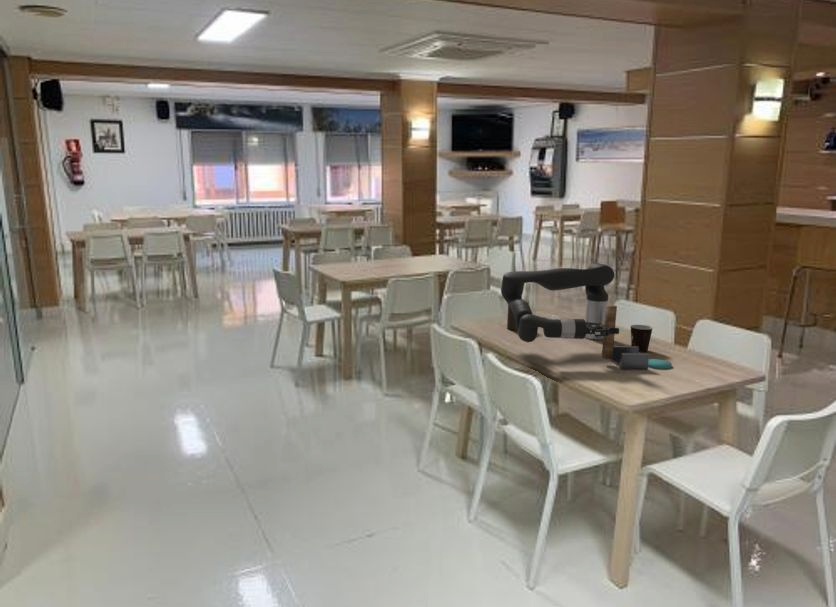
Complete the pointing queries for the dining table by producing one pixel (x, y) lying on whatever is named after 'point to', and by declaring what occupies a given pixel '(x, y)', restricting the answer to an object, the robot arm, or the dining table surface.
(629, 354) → the metal channel
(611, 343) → the walnut dowel
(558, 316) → the teacup and saucer
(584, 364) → the dining table surface
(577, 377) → the dining table surface
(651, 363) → the teal mat
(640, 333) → the coffee mug
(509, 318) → the pillar candle
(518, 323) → the robot arm
